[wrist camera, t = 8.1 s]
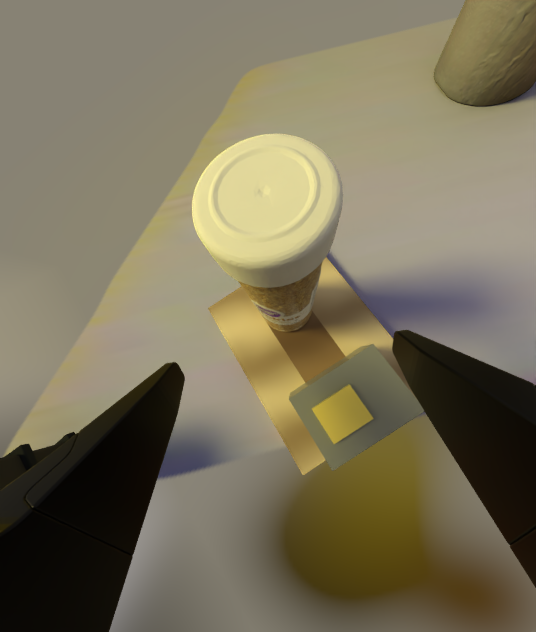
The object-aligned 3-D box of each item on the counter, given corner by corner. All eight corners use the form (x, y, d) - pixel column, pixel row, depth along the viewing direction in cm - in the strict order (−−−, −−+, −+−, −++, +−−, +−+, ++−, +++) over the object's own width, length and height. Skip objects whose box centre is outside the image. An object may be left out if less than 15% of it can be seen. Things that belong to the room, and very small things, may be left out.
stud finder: (402, 401, 16) (428, 411, 13) (326, 451, 16) (333, 473, 13) (360, 346, 17) (374, 343, 14) (290, 392, 17) (288, 399, 14)
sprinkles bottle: (258, 328, 19) (168, 256, 6) (267, 281, 20) (204, 126, 7) (309, 336, 18) (337, 272, 5) (315, 287, 19) (353, 121, 6)
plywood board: (426, 388, 17) (434, 389, 16) (302, 468, 17) (303, 475, 16) (311, 245, 21) (312, 239, 20) (212, 310, 21) (208, 308, 20)
